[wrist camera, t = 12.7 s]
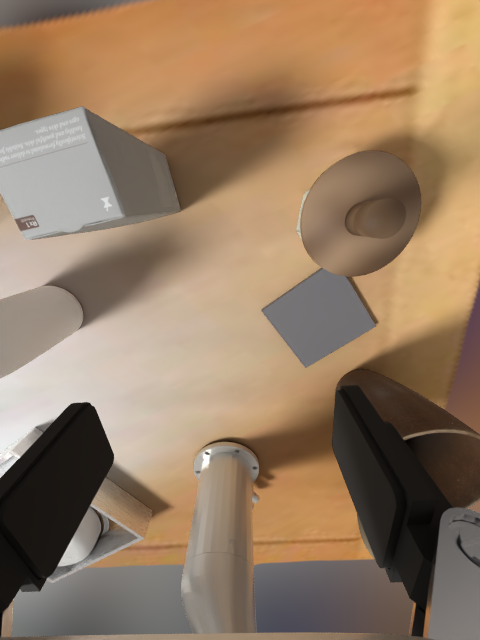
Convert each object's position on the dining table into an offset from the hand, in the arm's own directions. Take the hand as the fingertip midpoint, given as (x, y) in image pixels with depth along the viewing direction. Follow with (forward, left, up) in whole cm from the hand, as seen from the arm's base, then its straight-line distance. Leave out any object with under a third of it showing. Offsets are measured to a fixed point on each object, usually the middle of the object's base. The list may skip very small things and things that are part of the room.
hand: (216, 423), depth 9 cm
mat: (-12, -6, -26) cm, 30 cm away
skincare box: (+15, +3, -26) cm, 31 cm away
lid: (-2, -15, -21) cm, 26 cm away
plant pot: (-27, -5, -26) cm, 38 cm away
